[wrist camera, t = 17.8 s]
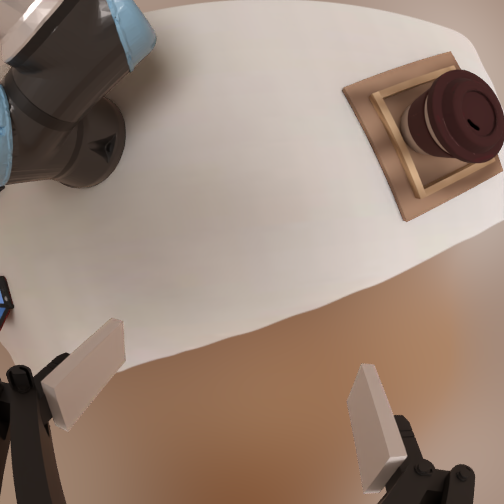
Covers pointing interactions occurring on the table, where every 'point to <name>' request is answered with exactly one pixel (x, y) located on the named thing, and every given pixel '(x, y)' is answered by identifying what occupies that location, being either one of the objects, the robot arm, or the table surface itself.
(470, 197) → the table surface
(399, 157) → the cup rack
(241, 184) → the table surface
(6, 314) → the handheld game console
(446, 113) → the coffee cup
